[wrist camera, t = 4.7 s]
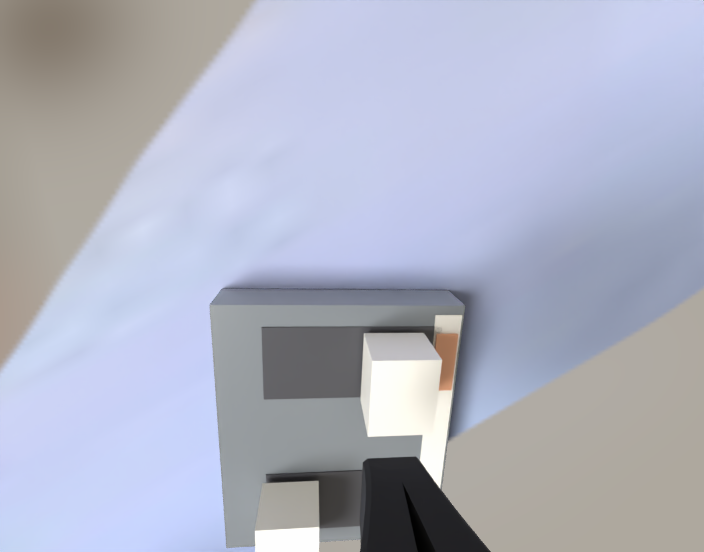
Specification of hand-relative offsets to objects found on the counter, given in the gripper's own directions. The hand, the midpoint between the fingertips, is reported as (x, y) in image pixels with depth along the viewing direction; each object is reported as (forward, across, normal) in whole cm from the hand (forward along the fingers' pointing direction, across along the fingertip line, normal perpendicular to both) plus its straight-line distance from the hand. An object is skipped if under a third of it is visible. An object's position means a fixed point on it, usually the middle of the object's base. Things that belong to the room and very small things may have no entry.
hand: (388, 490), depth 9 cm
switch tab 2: (+6, -1, 0) cm, 6 cm away
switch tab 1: (+6, +3, +7) cm, 10 cm away
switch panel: (+8, +1, +4) cm, 9 cm away
